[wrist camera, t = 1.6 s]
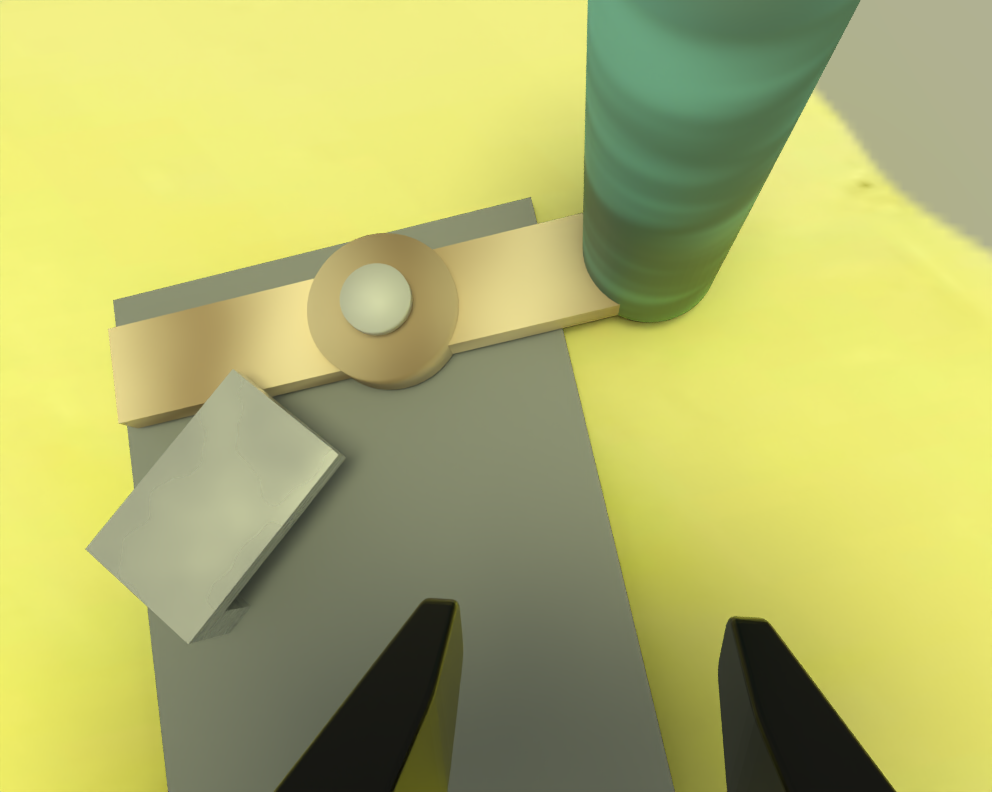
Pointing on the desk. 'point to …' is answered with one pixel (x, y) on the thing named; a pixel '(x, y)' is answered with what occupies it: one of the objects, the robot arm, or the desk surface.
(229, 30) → the desk surface
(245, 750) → the base plate
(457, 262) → the link
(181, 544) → the block
